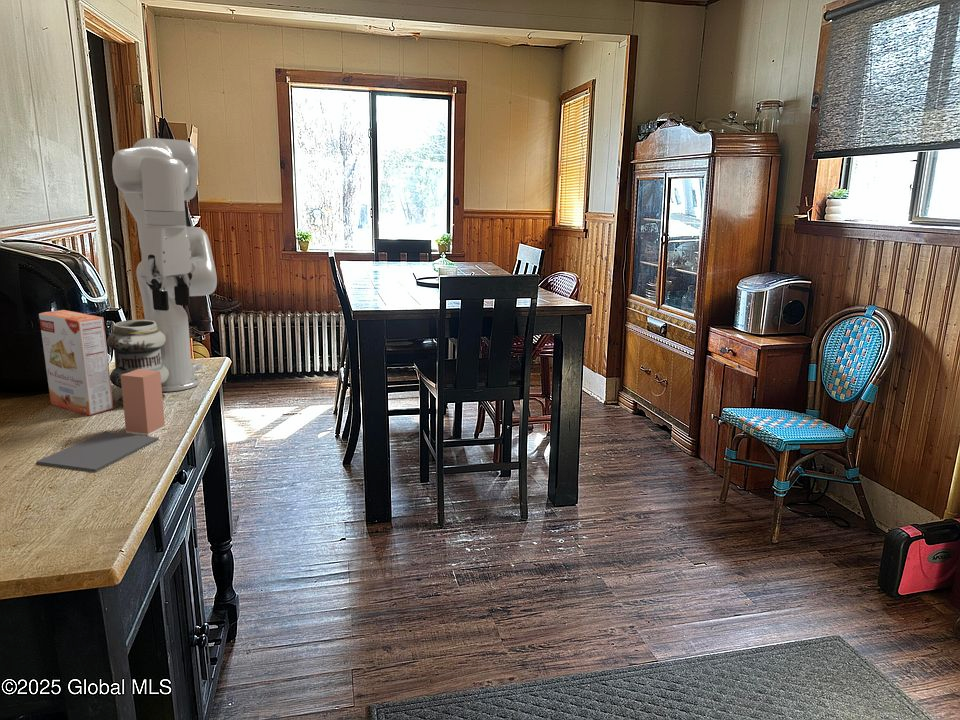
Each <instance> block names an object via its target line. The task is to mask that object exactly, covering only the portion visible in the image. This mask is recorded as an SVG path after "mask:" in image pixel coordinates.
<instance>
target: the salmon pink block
mask: <svg viewBox="0 0 960 720" xmlns="http://www.w3.org/2000/svg"><path fill="white" fill-rule="evenodd" d="M121 385H122V389H121V393H122V394H121V396H123V404H122V406H123V414H124V425H125V432H126V433H125V434H130V433H131V434H132V435H138V434H141V435H140V436H146V435H149V436H150V435H153V434H155V433H157V432H159V431H161V430H164V429H165V428H166V425H165V413H164V402H163V401H164V399H163V398H162V393H163V392H162V386H161V374H160V371H154V370H144V369H137V370H134V371H131V372H128V373H125V374H122V375H121Z"/></svg>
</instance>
